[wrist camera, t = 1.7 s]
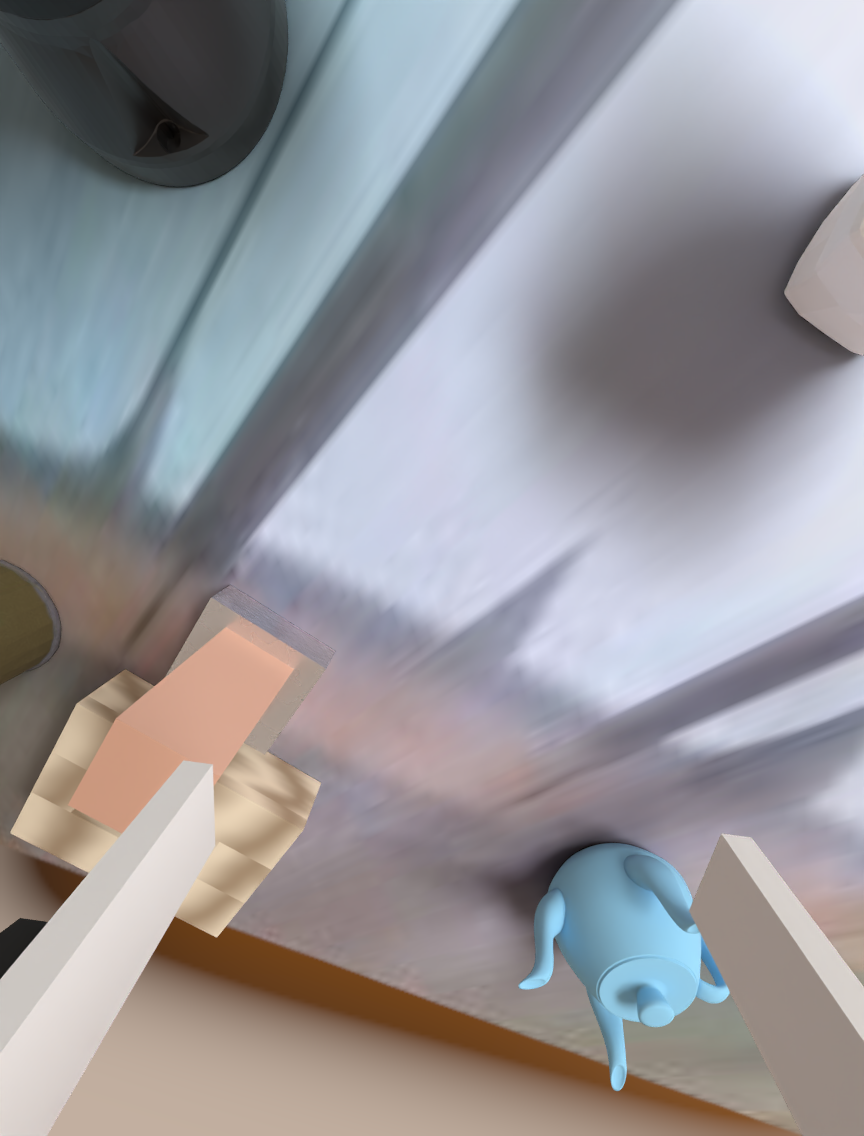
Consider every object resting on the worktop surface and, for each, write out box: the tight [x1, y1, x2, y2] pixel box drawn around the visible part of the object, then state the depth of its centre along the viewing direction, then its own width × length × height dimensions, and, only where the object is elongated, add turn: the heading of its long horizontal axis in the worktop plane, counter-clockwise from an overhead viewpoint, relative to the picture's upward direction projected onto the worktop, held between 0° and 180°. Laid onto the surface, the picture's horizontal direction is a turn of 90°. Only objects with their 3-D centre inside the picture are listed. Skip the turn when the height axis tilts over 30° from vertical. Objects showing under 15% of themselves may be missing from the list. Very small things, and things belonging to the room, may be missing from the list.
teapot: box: [519, 843, 730, 1091], centre depth 37 cm, size 15×15×10 cm
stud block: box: [68, 627, 294, 833], centre depth 30 cm, size 6×7×14 cm
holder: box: [165, 585, 336, 755], centre depth 35 cm, size 10×10×3 cm
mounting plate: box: [10, 669, 321, 937], centre depth 38 cm, size 20×16×5 cm
